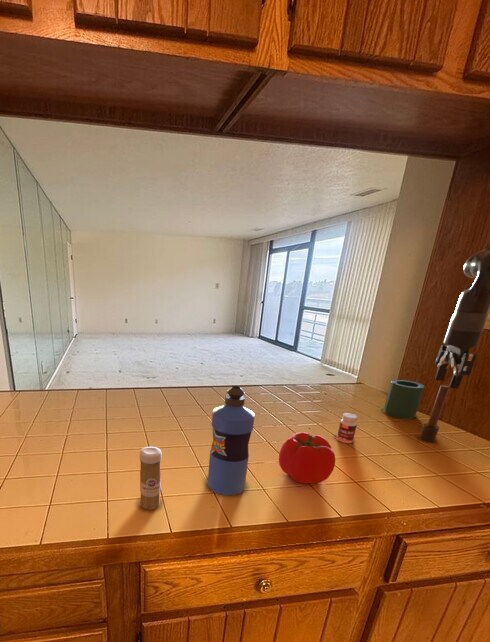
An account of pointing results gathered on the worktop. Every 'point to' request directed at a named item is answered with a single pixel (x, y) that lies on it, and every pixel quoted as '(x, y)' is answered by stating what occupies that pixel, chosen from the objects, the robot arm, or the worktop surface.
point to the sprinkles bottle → (150, 477)
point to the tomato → (307, 458)
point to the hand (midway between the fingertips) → (445, 383)
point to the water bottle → (230, 444)
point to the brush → (434, 416)
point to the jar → (403, 399)
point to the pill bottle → (347, 428)
